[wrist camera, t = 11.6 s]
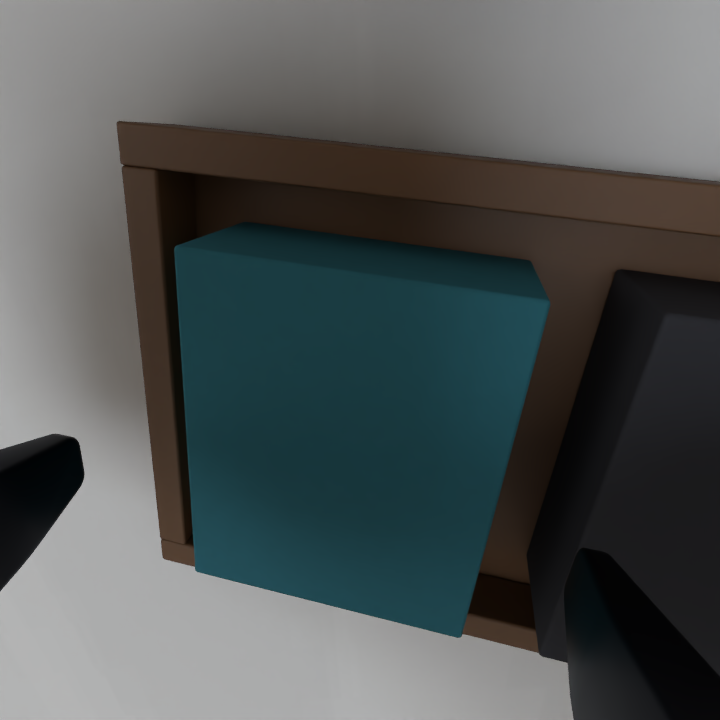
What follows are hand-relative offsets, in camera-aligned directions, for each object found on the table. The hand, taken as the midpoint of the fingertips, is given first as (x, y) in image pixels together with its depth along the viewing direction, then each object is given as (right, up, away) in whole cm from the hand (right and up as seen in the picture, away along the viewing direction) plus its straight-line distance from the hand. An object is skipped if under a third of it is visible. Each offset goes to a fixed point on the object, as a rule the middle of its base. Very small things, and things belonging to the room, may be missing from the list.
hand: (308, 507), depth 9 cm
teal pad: (+1, +2, +4) cm, 4 cm away
